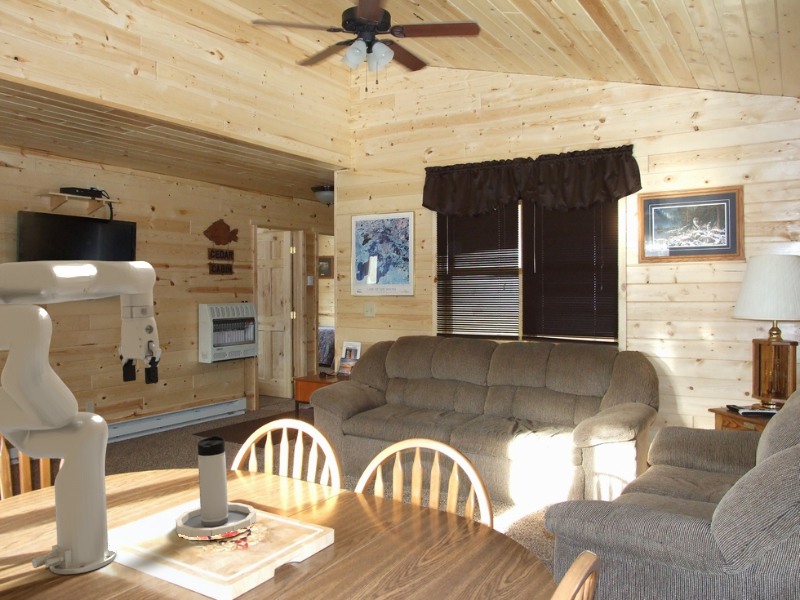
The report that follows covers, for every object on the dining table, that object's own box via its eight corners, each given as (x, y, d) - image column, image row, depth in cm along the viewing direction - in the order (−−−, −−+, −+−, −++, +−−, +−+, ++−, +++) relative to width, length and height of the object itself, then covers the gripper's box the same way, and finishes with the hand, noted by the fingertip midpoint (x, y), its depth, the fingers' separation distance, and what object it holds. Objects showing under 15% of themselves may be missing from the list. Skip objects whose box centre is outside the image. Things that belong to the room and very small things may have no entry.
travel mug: (233, 516, 154) (229, 435, 154) (222, 526, 148) (218, 441, 147) (208, 517, 155) (204, 435, 155) (196, 527, 148) (192, 442, 148)
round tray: (209, 547, 139) (209, 535, 139) (161, 531, 149) (160, 520, 149) (270, 520, 153) (270, 510, 153) (222, 508, 164) (222, 498, 164)
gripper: (171, 312, 155) (174, 382, 155) (132, 313, 165) (135, 378, 166) (143, 314, 149) (146, 386, 149) (104, 314, 159) (107, 382, 159)
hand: (140, 382), depth 157 cm, fingers open, 9 cm apart
